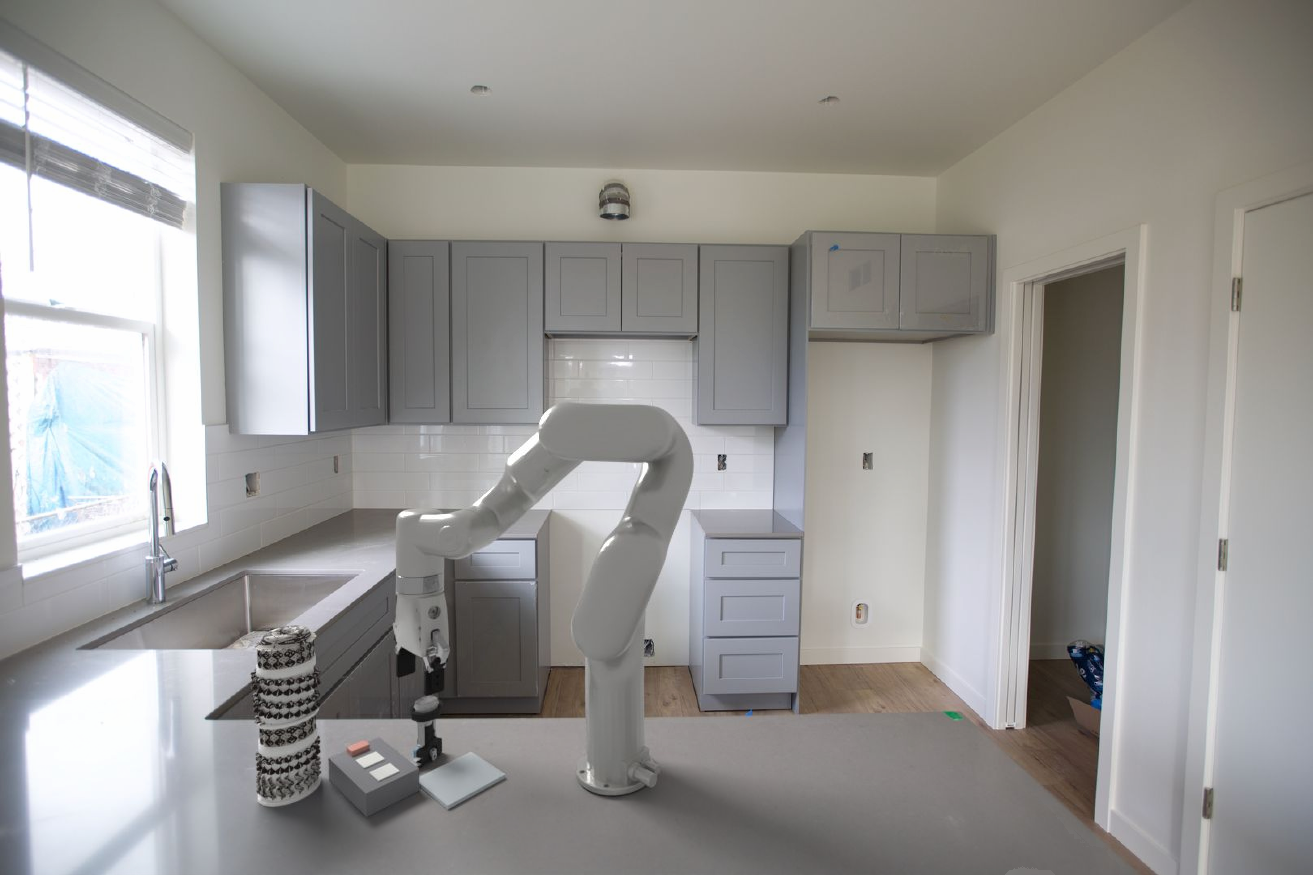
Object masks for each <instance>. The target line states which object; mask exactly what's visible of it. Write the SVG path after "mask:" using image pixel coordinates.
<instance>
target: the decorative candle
mask: <svg viewBox="0 0 1313 875" xmlns="http://www.w3.org/2000/svg"><path fill="white" fill-rule="evenodd" d="M316 638H317V634H316V632H312V631H311V630H310V629H309V628H308V627H306V626H303V625H297V624H296V625H287V626H286V625H285V626H281V627H278V628H275V629H272V630H270V631H268V632H267V633H265V634H264V635H263V636H262V638H261V640H259V641H258V642H257V643H256V644H254V649H255V650H256V653H257V654H256V655H257V658H256V659H257V660H256V662H257V663H256V664H255V665H256V666H255V667H256V668H254V670H253V672H250V678H251V679H250V680H251V681H250V684H251V687H250V689H251V690H253V691H254V693H252V702H253V704H252V706H253V709H252V712H253V713H255V714H256V715H255V716H254V719H253V720H254V724H255V726H256V727H257V728H258V730H259V734H258V735H259V738H258V739H257V741H258V744H257V745H258V746H257V747H258V748H257V749H258V750H257V751H256V752H255V756H256V757H255V761H257V762H255V763H256V764H255V766H256V767H255V770H256V771H257V773H256V775H255V778H256V779H255V782H256V787H255V788H256V790H255V791H256V794H257V803H258V804H260V805H261V806H263V807H269V808H275V807H283V806H288V805H291V804H293V803H296V802H299V801H301V800H304V799H305V798H306V797H308V796H310V795H311V794H312V793H314V792H315V791H316V790H317V789H318V788H319V786H320V784H322V783H321V780H322V779H321V774H322V770H321V769H322V767H321V766H320V765H321V764H322V761H321V756H319V755H320V754H321V751H322V750H321V749H320V748H321V746H320V743H321V739H320V738H321V737H320V735H318V734H319V732H318V724H317V713H318V712H319V710H320V707H321V703H320V700H318V699H319V697H320V696H321V692H320V691H319V690H316V688H317V687H318V686H319V685H320V684H322V681H321V679H320V678H319V676H320V674H322V673H321V672H322V671H321V670H320V668H319V667H316V664H317V660H316V659H317V657H316V653H315V643H314V642H315V641H314V640H315V639H316Z"/></svg>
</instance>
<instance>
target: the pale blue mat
mask: <svg viewBox="0 0 1313 875" xmlns="http://www.w3.org/2000/svg"><path fill="white" fill-rule="evenodd" d="M504 779H506V773H504V772H502V771H501V770H500V769H498V768H496V767H495V766H493V765H492V764H491V763H489V762H487V761H486V760H484V759H483V758H481V757H480V756H479V755H477V754H475V753H474V752H472V751H469V752H468V753H465V754H463V755H462V756H460V757H457V758H455V759H453V760H451V761H449V762H447V763H445V764H442V765H441V766H438V767H437V768H434V769H432V770H431V771H428V772H426V773H423V774H422V775H419V788H421V789H422V790H423V791H424V792H425V793H427V794H428V795H429V796H430V797H432V798H433V799H434V800H435V801H436V802H438V803H439V804H440V805H441V806H443V807H444V809H446V810H450V809H451V808H453V807H456V806H457V805H460V804H461V803H462V802H464V801H467V800H468V799H470V798H472V797H473V796H475V795H477V794H480V792H482V791H485V790H486V789H488V788H490V787H491V786H493V785H495V784H497V783H499V782H501V781H503V780H504Z"/></svg>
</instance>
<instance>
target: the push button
mask: <svg viewBox="0 0 1313 875" xmlns="http://www.w3.org/2000/svg"><path fill="white" fill-rule="evenodd" d="M443 708H444V702H443V701H442V700H440V699H438V697H436V696H434V695H430V696H426V695H424V696H422V697H420V698H418V699H416V700H415V702H414V703H413V704H412V705H411V706H410V707H409V710H408V711H409V714H410V718H411V720H412V722H413V721H414V722H416V725H417V740H416V745H417V746H416V748H414V749H413V759H412V761H410V762H411V763H413V764H414V765H415V766H417V767H424V766H426V765H427V764H428V763H429V762H430V761H435V760H436V759H437V756H439V755H441V754H442V753H443V739H442V737H438V736H437V734H438V733H437V722H436V721H437V719H438V718H439V717H440V716H441V715H442V713H443Z"/></svg>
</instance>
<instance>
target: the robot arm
mask: <svg viewBox="0 0 1313 875" xmlns="http://www.w3.org/2000/svg"><path fill="white" fill-rule="evenodd" d="M691 444H692V443H691V442H690V440H689V437H688V435H687V433H686V432H685V430H684V429H683V427H682V426H681V424H680V423H679V421H677V420H676V418H675V417H674V416H673V415H672V414H671V413H669V412H668V411H667V410H665V409H663V408H661V407H659V406H655V405H647V404H621V403H619V404H611V403H610V404H608V403H582V402H579V403H578V402H571V401H569V402H567V401H566V402H565V401H564V402H561V403H557V404H555V405H552V407H551V406H550V408H548V409H547V410H546V411H545V412H544V414H543V415H542V417H541V419H540V420H539V423H538V426H537V432H536V433H534V434H533V435H532V436H531V437H530V438H529V439H528V440H527V441H526V442H524V443H523V444H522V445H521V446H519V448H518V449H517V450H515V451H514V452H512V454H511V455H509V457H508V458H507V459H506V460H505V464H504V472H503V475H502V476H501V478H500V479H499V480H498V482H497V483H495V485H494V486H492V487H491V489H490V490H488V491H487V492H486V493H484V494H483V496H482V497H480V499H478V500H477V501H476V502H474V503H473V504H472V505H470V506H468V507H465V508H462V509H461V508H460V509H458V510H455V511H452V512H447V513H445V514H444V513H443V512H442V511H441V510H439V509H437V508H430V507H429V508H428V507H418V508H417V507H416V508H409V509H404V510H403V511H401V512H400V513H399V512H398V514H397V516H396V523H395V596H396V603H395V604H396V606H395V607H396V608H395V619H394V620H395V621H394V622H393V623H392V628H393V635H394V636H393V641H394V642H395V646H394V647H395V648H394V651H395V676H396V678H398V679H399V678H402V677H406V676H408V675H411V674H415V672H416V656H418V657H420V658H422V659H423V662H424V664H425V668H426V670H425V671H424V672H423V673H424V674H423V676H424V677H423V678H424V679H423V682H424V683H423V693H424V694H423V695H424V696H433V695H435V694H438V693H440V692H443V691H444V690H445V668H446V667H447V663H448V660H449V655H450V651H451V647H450V646H449V645H450V644H449V640H450V639H449V638H450V637H449V619H448V617H449V616H448V606H447V601H446V595H445V592H444V591H445V559H449V560H461V559H464V558H467V557H469V556H470V555H473V554H475V553H476V552H478V551H480V550H482V549H483V548H485V547H487V546H490V545H491V544H493V543H494V542H495V541H496V540H498V539H499V538H500V537H502V536H503V535H504V533H507V531H508V530H510V528H511V527H512V526H514V525H515V524H516V523H517V522H519V520H520V519H522V518H523V517H524V516H525V515H526V514H527V513H528V512H529V511H530V510H531V509H533V507H535V505H536V504H538V503H539V502H540V501H541V500H543V498H544V497H545V496H546V495H547V494H548V493H549V492H551V490H553V489H554V488H555V487H556V486H558V484H559V483H560V482H562V481H563V479H565V478H566V477H567V476H569V474H570V473H571V472H573V471H574V470H575V469H576V468H578V467H579V466H580V465H582V463H583V462H600V463H601V462H603V463H605V462H606V463H609V462H610V463H632V464H633V463H635V464H638V463H639V464H640V463H641V467H640V473H639V474H638V478H637V480H636V482H635V484H634V486H633V489H632V492H631V495H630V497H629V500H628V503H627V505H626V507H625V510H624V512H623V514H622V516H621V519H620V521H619V523H618V524H617V525H616V527H615V528H614V529H613V530H612V531H611V532H610V533H609V534H608V536H607V537H606V538H605V539H604V541H603V542H602V544H601V546H600V547H599V550H598V552H597V553H596V556H595V558H594V561H593V563H592V565H591V568H590V571H589V574H587V575H588V576H587V578H586V580H585V583H584V586H583V588H582V590H581V593H580V596H579V598H578V601H577V604H576V606H575V608H574V611H573V614H572V617H571V620H570V621H571V622H570V633H571V638H572V639H571V640H572V641H573V643H574V645H575V648H576V649H577V650H578V651H579V653H581V655H583V656H584V657H585V658H584V662H585V663H584V665H585V666H584V673H585V674H584V682H585V683H584V687H585V688H584V690H585V693H584V695H585V697H584V698H585V703H584V704H585V754H584V755H583V756H581V757H580V759H579V760H578V762H577V765H576V778H577V781H578V783H579V784H580V785H581V786H582V787H583V788H585V789H586V790H587V791H590V792H592V793H594V794H597V795H602V796H603V795H604V796H621V795H627V794H628V795H629V794H631V793H634V792H636V791H639V790H640V789H642V788H644V787H645V786H647V787H648V788H654V787H655V786H656V784H657V781H658V775H659V774H660V772H661V769H662V766H661V765H660V764H658V763H655V761H654V759H653V757H652V756H651V754H650V747H648V746H646V745H645V741H646V740H645V739H646V738H645V636H646V635H645V634H646V609H647V607H648V604H649V602H650V600H651V598H652V594H653V592H654V590H655V589H656V588H655V587H656V584H657V583H658V580H659V578H660V575H661V572H662V571H663V567H664V565H665V562H666V559H667V555H668V549H669V547H670V543H671V540H672V538H673V535H674V532H675V530H676V527H677V525H678V522H679V520H680V518H681V514H682V512H683V508H684V507H685V506H684V505H685V503H686V501H687V498H688V495H689V492H690V489H691V486H692V482H693V477H694V469H695V468H694V466H695V465H694V464H695V463H694V459H695V458H694V453H693V448H692V445H691ZM431 649H432V650H431ZM433 656H436V657H434V659H433V661H432V659H431V657H433Z"/></svg>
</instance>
